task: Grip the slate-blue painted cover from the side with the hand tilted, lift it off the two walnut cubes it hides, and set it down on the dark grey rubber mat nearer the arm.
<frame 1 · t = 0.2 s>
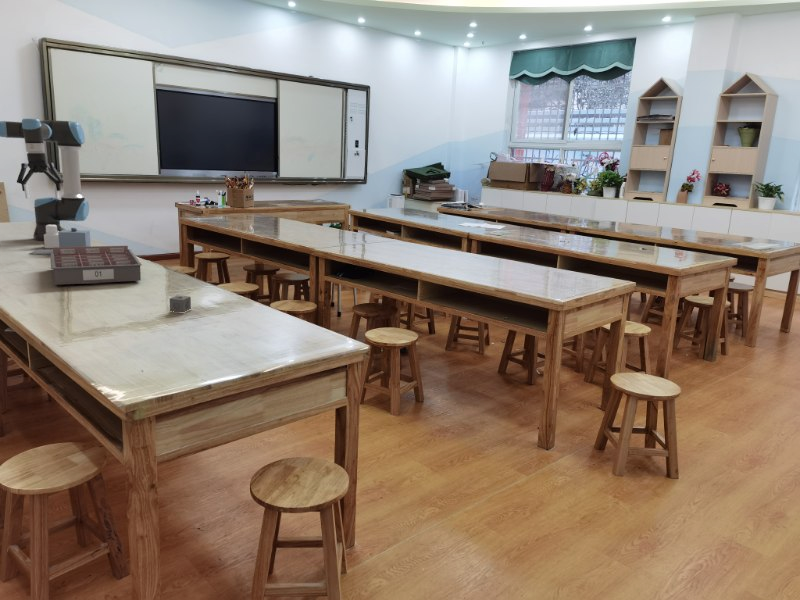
hand: (42, 198, 291), 27 cm above the table, tool pointing down, fingers open, 13 cm apart
organizer tray: (95, 277, 254), on the table
dice cube: (180, 312, 208), on the table
cube a: (69, 253, 301), on the table
cube b: (81, 253, 302), on the table
mat: (44, 252, 299), on the table
medicine bottle: (53, 247, 315), on the table
cover: (75, 253, 302), on the table
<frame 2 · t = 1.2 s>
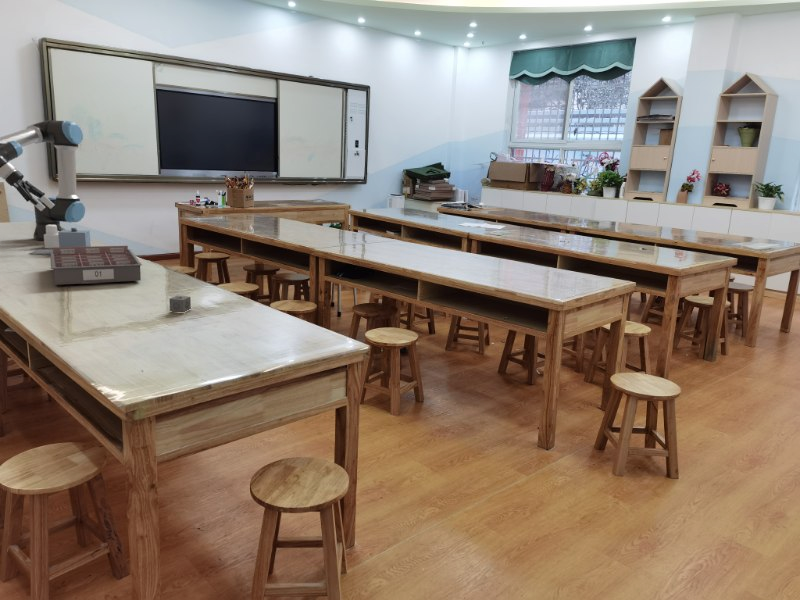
hand: (48, 208, 294), 22 cm above the table, tool tilted 45°, fingers open, 13 cm apart
nothing on the table moved.
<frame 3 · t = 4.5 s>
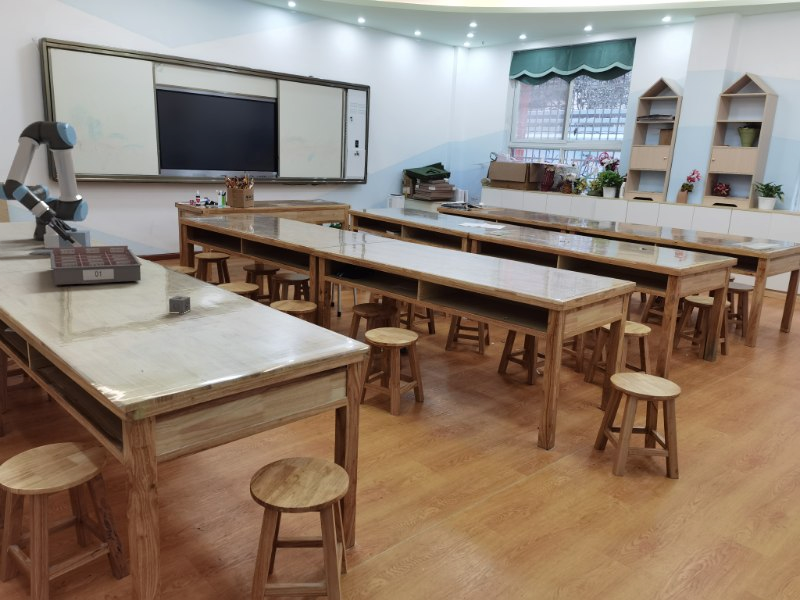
hand: (82, 246, 302), 4 cm above the table, tool tilted 45°, fingers closed on cover, 8 cm apart
cover: (75, 253, 302), on the table, touching gripper
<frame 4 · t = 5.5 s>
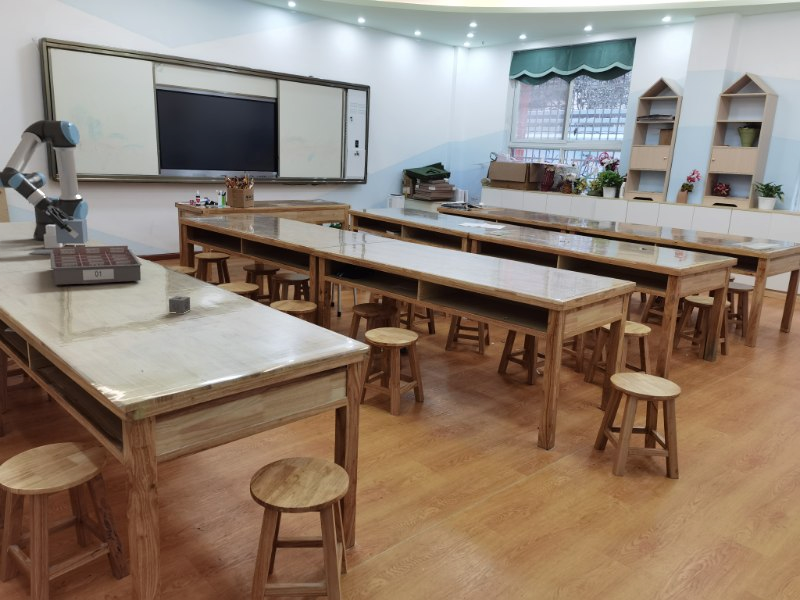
hand: (79, 234, 300), 9 cm above the table, tool tilted 45°, fingers closed on cover, 8 cm apart
cover: (72, 242, 300), point 6 cm above the table, touching gripper
everything else where it was.
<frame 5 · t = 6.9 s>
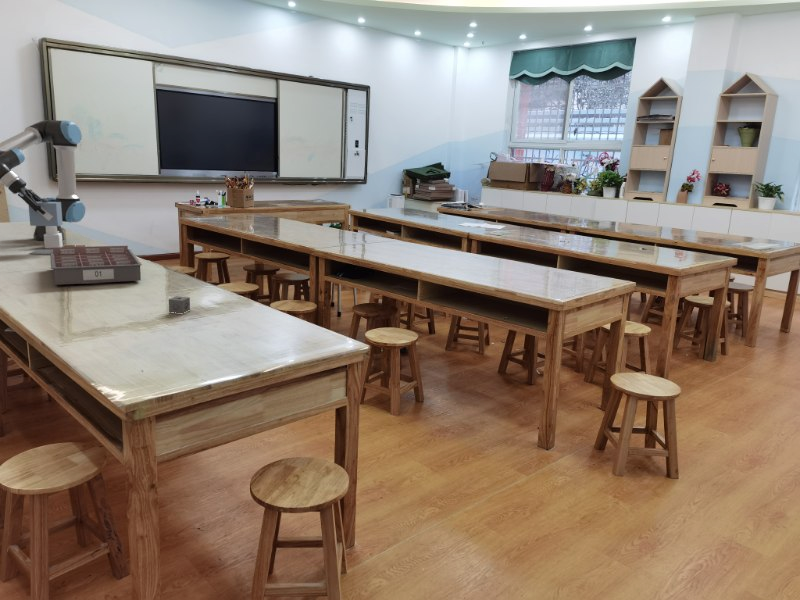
hand: (53, 217, 296), 17 cm above the table, tool tilted 45°, fingers closed on cover, 8 cm apart
cover: (46, 224, 296), point 14 cm above the table, touching gripper
when the fingers open (5 cm above the table, at t = 9.8 s): cover stays where it is, resting on mat.
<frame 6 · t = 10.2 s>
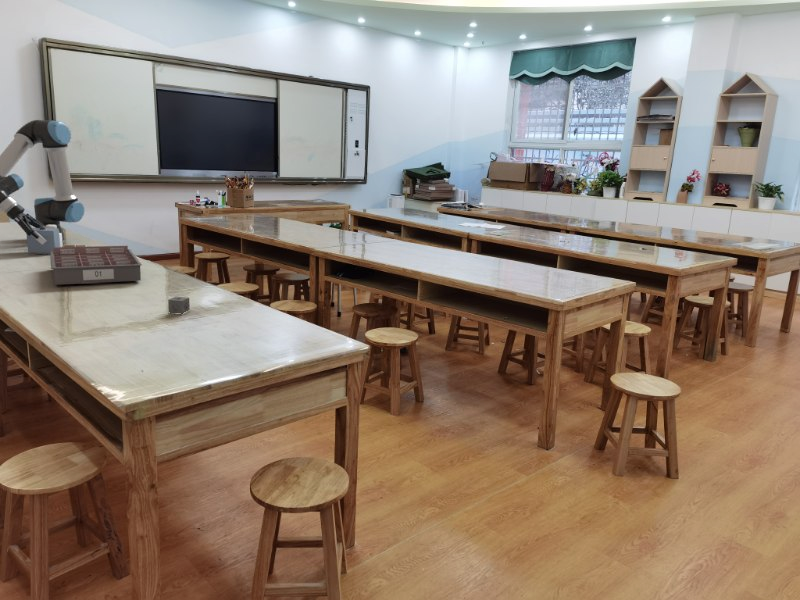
hand: (49, 240, 298), 6 cm above the table, tool tilted 45°, fingers open, 12 cm apart
cover: (44, 251, 299), point 1 cm above the table, touching mat
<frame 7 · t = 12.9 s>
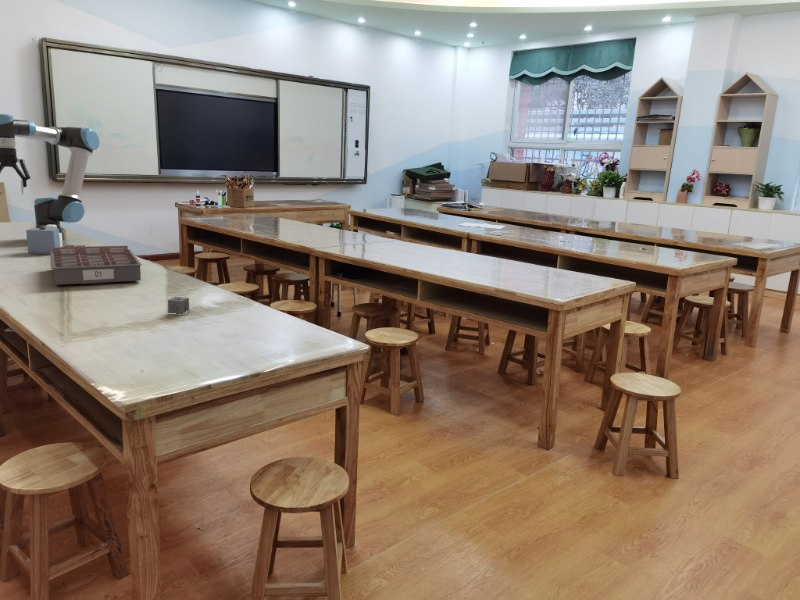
hand: (11, 193, 298), 28 cm above the table, tool pointing down, fingers open, 10 cm apart
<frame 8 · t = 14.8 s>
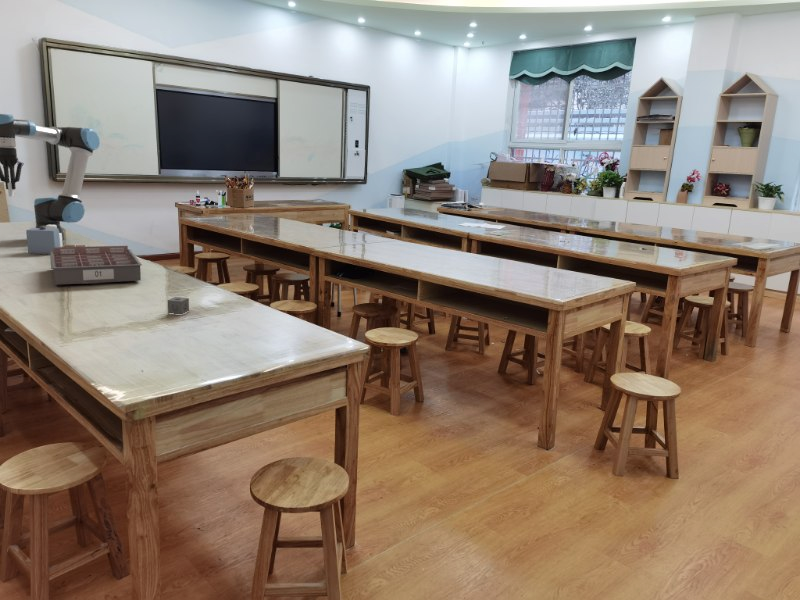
hand: (11, 196, 299), 26 cm above the table, tool pointing down, fingers closed
at the end: cover inside the target area (0.0 cm from its centre), point 0.6 cm above the table; cover tilted 0°; the gripper is holding nothing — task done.
